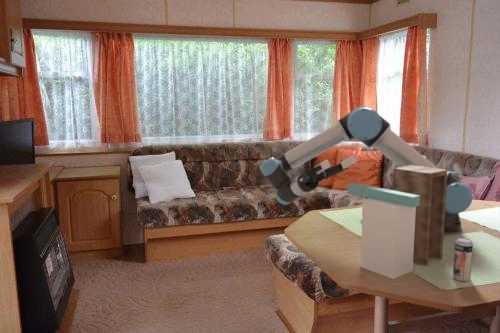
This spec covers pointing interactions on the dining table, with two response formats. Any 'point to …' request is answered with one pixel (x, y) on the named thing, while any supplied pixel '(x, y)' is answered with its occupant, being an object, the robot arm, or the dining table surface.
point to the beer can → (462, 259)
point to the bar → (384, 195)
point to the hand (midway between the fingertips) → (342, 160)
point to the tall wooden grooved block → (425, 208)
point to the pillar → (387, 238)
